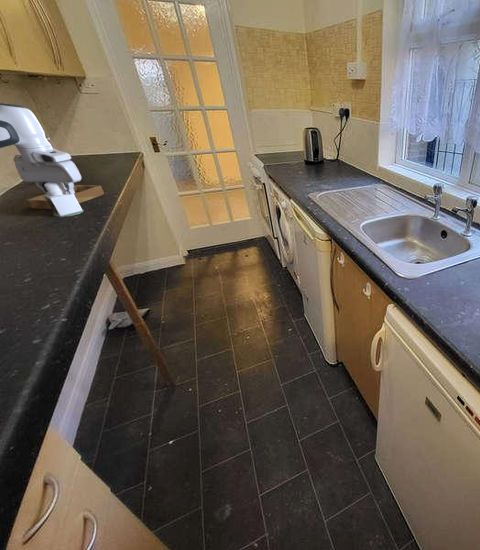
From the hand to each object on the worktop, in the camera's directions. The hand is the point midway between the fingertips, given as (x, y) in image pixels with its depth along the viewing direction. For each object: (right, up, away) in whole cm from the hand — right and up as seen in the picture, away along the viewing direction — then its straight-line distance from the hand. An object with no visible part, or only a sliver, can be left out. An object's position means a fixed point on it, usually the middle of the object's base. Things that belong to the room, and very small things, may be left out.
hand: (60, 193), depth 113 cm
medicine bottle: (0, -6, +4) cm, 8 cm away
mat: (0, -7, +4) cm, 8 cm away
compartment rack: (-12, +1, +16) cm, 20 cm away
